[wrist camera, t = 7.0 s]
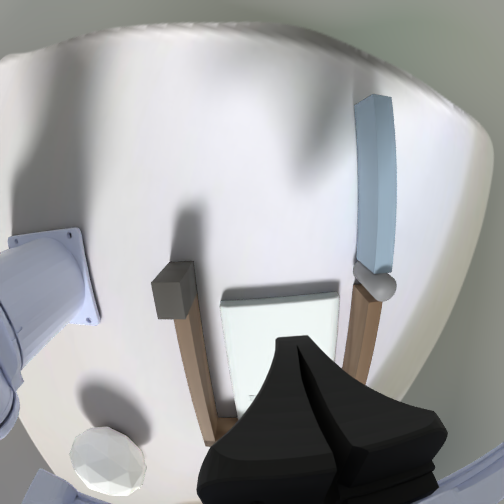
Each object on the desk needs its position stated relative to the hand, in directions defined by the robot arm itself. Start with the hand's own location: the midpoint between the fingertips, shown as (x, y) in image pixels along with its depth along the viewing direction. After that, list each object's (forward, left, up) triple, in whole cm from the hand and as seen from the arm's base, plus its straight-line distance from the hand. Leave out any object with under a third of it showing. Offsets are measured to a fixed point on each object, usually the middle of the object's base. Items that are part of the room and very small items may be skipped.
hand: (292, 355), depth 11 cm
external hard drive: (0, -7, -9) cm, 12 cm away
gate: (+6, +6, -8) cm, 11 cm away
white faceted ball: (-19, -21, -8) cm, 30 cm away
